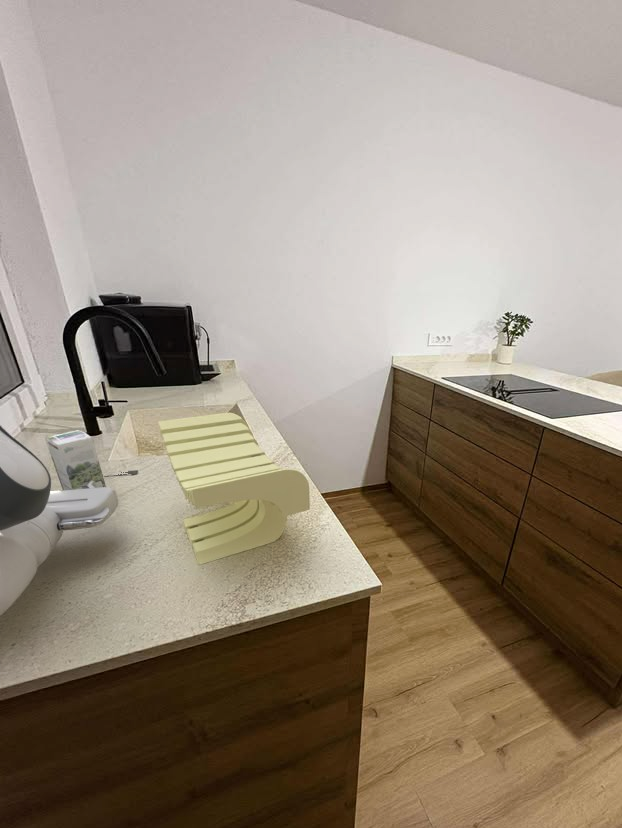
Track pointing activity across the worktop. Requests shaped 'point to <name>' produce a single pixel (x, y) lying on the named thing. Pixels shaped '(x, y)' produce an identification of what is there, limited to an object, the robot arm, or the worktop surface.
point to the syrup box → (75, 459)
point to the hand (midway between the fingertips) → (60, 487)
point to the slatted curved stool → (230, 485)
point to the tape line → (130, 472)
